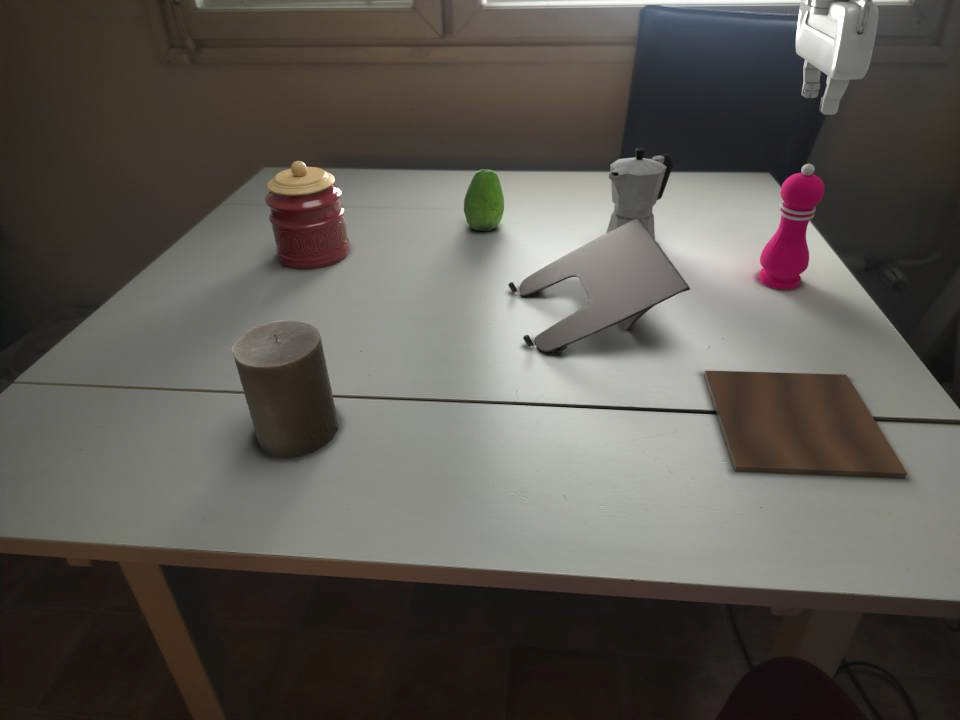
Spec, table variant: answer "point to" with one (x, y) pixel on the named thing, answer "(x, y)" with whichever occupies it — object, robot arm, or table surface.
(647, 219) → the coffeepot
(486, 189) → the avocado
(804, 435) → the walnut board
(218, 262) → the table surface
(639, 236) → the laptop tray
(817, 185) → the pepper mill
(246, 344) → the pillar candle
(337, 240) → the kitchen canister
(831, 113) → the robot arm
